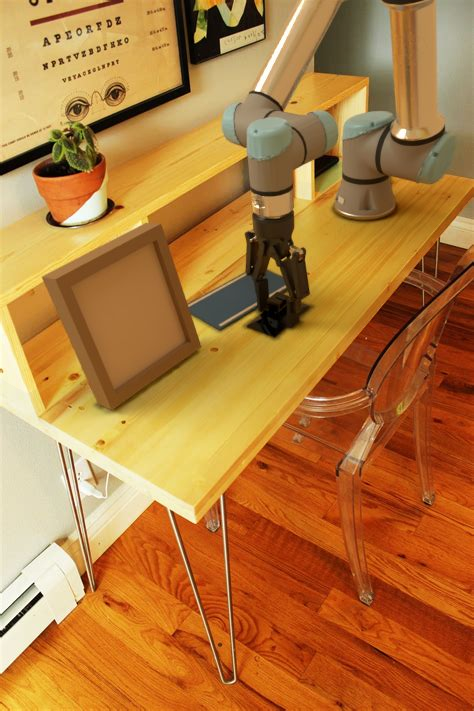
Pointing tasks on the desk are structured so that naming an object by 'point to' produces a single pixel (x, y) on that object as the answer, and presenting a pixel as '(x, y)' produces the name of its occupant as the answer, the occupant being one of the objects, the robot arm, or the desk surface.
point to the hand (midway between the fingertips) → (278, 315)
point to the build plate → (274, 316)
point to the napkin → (232, 300)
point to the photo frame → (124, 313)
